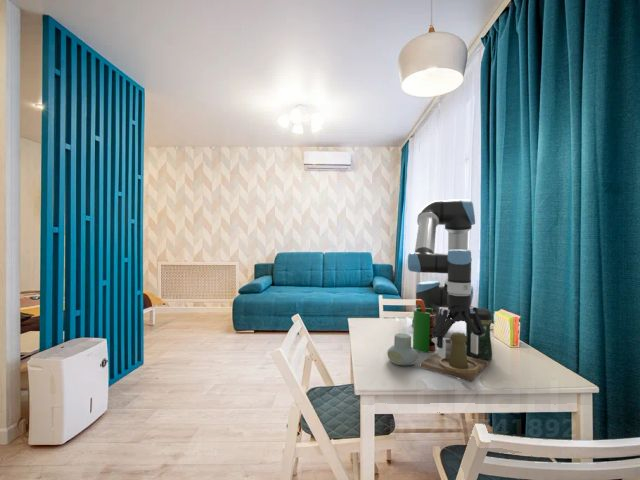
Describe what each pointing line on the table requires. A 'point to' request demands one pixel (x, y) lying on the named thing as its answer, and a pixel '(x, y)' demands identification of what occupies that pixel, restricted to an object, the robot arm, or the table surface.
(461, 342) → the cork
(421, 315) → the motor
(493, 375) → the table surface
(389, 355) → the air freshener
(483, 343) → the coffee jar
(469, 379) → the carrier board
